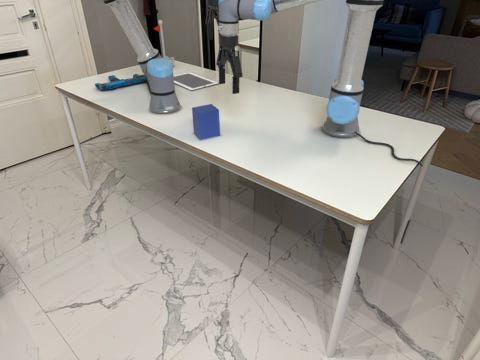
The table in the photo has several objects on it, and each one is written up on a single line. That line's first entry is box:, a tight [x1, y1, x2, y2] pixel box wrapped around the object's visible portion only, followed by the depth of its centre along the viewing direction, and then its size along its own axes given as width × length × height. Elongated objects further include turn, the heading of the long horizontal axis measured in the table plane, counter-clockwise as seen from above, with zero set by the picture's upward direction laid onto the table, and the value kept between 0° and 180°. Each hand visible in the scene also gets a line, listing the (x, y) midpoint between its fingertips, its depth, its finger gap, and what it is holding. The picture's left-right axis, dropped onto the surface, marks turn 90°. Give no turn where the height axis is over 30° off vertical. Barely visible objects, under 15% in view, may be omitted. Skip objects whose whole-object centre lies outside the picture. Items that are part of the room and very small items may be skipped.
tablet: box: [173, 71, 220, 91], centre depth 211 cm, size 32×20×1 cm, turn 41°
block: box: [191, 103, 221, 141], centre depth 144 cm, size 9×8×12 cm
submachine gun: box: [94, 73, 149, 91], centre depth 208 cm, size 34×4×25 cm
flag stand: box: [153, 19, 176, 67], centre depth 232 cm, size 13×13×30 cm
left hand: (216, 41), depth 179 cm, fingers open, 13 cm apart
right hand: (228, 88), depth 143 cm, fingers open, 13 cm apart
